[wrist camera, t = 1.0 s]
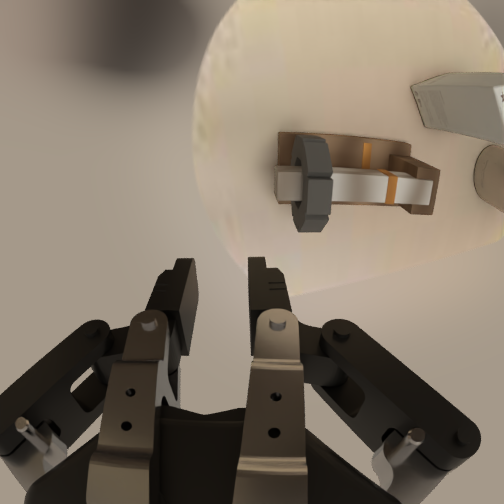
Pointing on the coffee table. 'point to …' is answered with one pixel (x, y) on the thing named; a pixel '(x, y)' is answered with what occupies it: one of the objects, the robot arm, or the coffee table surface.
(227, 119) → the coffee table surface
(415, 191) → the pipe stand
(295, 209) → the o ring
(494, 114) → the skincare box
